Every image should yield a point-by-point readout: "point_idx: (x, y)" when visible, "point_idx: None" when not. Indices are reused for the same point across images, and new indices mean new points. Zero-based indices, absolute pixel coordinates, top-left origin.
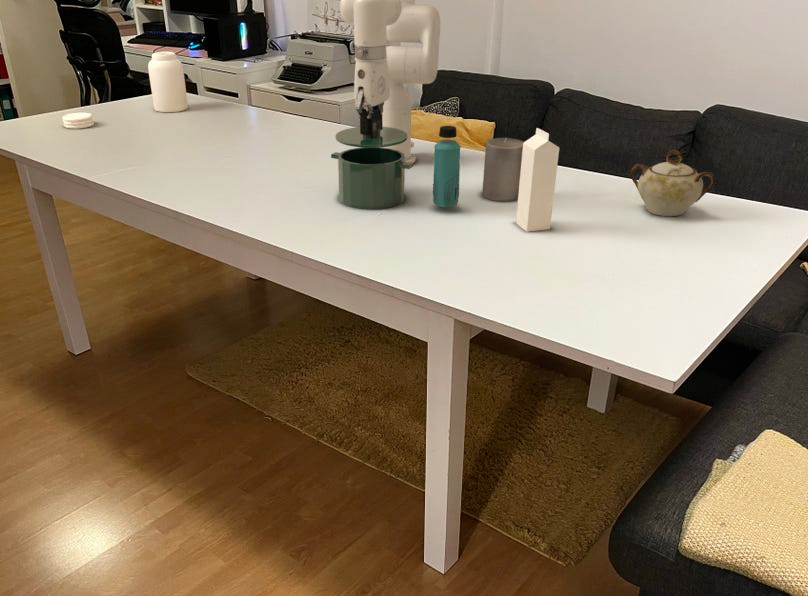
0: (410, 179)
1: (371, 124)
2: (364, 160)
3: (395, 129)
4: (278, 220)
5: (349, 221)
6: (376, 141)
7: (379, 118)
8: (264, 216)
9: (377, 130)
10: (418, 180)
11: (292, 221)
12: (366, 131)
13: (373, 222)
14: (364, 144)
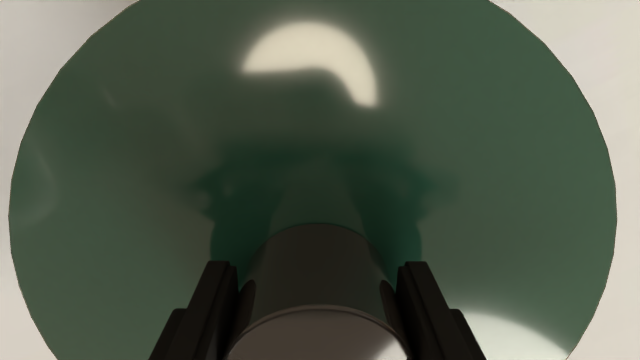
0: (28, 106)
1: (455, 327)
2: None
3: (36, 198)
4: (627, 294)
5: (591, 97)
6: (480, 175)
7: (213, 352)
8: (601, 339)
9: (347, 257)
10: (16, 68)
11: (628, 257)
12: (456, 314)
13: (583, 6)
14: (600, 220)
